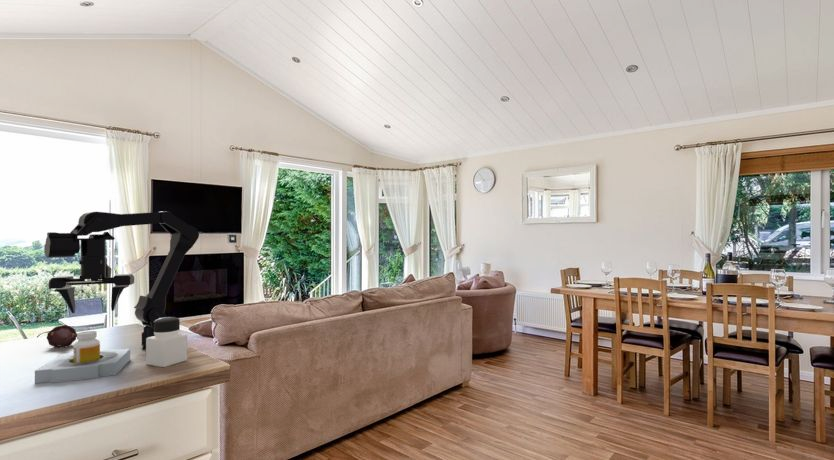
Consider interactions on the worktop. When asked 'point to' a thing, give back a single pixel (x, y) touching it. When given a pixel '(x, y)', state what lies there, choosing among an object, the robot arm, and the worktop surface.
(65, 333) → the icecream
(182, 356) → the medicine bottle
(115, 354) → the socket block
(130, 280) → the robot arm
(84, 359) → the supplement bottle
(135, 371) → the worktop surface
